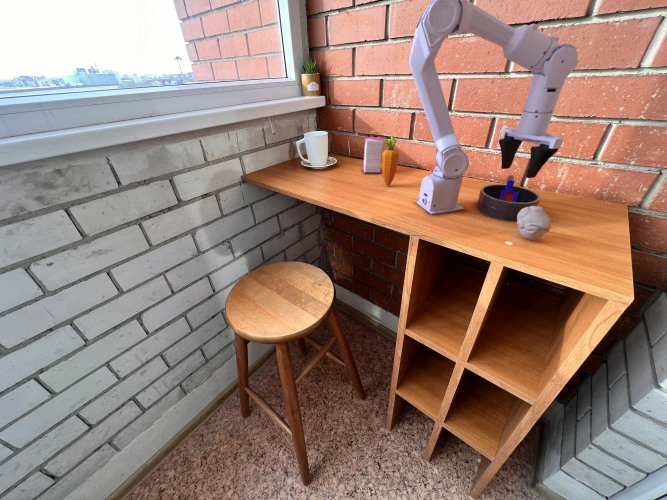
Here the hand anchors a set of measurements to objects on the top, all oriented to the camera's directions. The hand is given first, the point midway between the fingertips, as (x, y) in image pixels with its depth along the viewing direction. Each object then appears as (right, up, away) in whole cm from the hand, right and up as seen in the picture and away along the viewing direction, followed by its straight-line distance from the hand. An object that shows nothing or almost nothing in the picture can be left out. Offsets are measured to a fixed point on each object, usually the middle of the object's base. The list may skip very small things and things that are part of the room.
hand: (517, 172), depth 70 cm
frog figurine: (-3, -16, -7) cm, 18 cm away
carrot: (-28, +1, +21) cm, 35 cm away
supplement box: (-31, +10, +35) cm, 47 cm away
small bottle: (-1, -8, +5) cm, 9 cm away
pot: (-1, -8, +5) cm, 10 cm away
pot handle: (+5, -1, +11) cm, 12 cm away
